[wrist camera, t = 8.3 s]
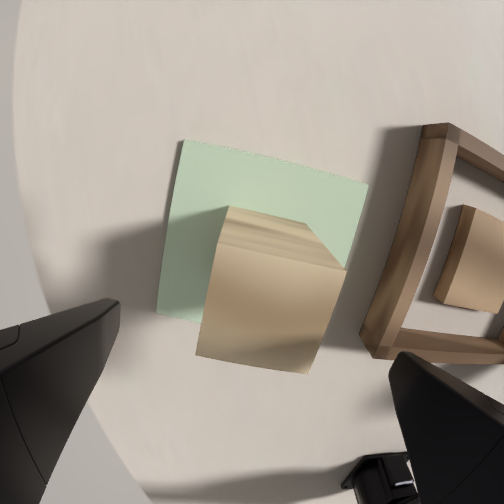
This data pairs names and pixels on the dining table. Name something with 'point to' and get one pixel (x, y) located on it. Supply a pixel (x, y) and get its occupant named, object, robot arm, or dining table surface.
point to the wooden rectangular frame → (457, 264)
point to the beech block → (268, 293)
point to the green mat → (247, 197)
